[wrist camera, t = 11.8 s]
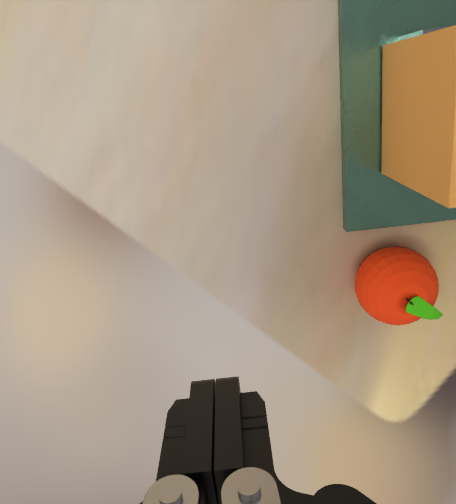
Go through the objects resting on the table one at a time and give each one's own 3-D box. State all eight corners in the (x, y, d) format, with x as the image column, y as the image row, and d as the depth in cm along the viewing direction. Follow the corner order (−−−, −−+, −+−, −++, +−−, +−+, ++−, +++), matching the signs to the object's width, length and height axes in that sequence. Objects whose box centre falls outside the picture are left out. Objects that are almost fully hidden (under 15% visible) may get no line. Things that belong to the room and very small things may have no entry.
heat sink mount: (337, -20, 33) (387, -67, 23) (522, -44, 33) (653, -102, 23) (343, 228, 40) (383, 273, 30) (496, 211, 40) (587, 251, 30)
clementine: (441, 261, 41) (483, 294, 35) (398, 318, 44) (430, 359, 37) (373, 223, 40) (403, 250, 33) (331, 283, 42) (352, 320, 35)
